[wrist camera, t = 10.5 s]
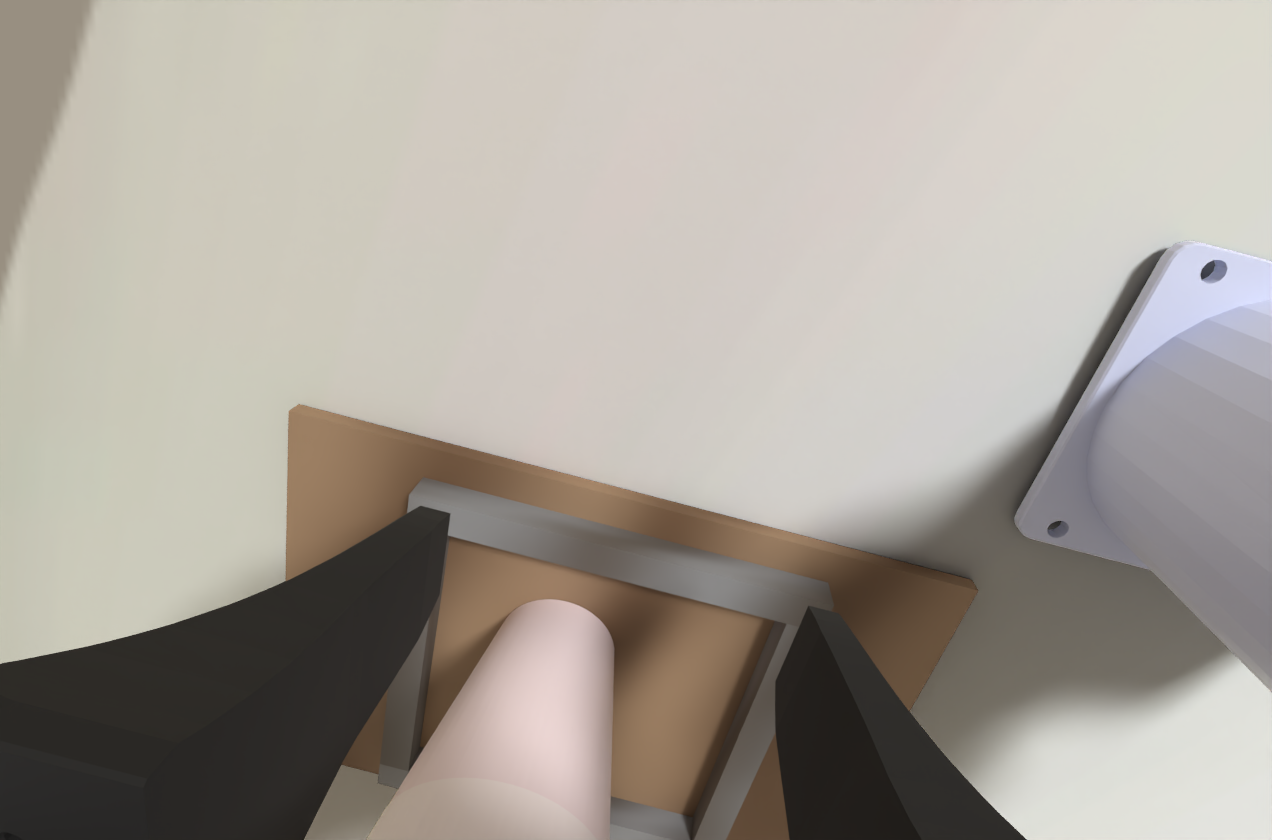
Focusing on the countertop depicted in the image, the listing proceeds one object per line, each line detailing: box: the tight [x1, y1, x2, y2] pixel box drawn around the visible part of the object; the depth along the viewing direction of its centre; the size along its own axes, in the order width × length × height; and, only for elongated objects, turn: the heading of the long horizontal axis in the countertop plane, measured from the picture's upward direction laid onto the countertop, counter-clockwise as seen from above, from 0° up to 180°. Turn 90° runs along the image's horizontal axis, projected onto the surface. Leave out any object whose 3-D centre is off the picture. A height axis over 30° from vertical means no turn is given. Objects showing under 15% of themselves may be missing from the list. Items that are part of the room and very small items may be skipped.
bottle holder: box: [286, 404, 978, 840], centre depth 21 cm, size 20×14×2 cm
